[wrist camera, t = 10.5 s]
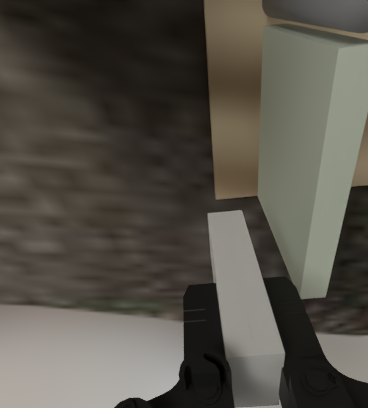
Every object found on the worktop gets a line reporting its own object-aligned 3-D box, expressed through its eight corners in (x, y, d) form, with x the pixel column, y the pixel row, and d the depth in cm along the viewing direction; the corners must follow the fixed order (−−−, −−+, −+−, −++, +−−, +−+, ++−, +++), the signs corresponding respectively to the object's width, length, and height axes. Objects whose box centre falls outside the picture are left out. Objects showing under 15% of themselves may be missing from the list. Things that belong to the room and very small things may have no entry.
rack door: (262, -14, 15) (346, -29, 7) (322, -22, 15) (470, -45, 7) (256, 196, 22) (297, 299, 14) (297, 192, 22) (360, 294, 14)
